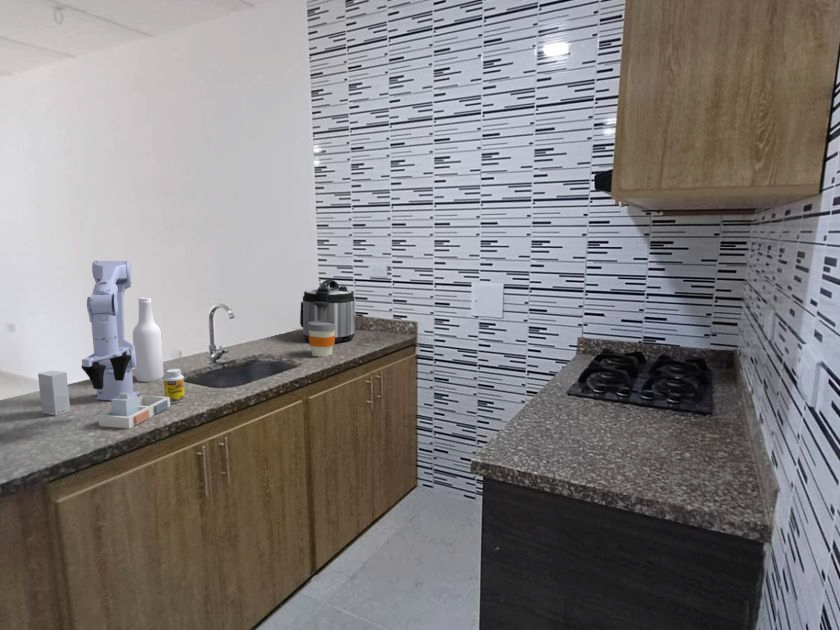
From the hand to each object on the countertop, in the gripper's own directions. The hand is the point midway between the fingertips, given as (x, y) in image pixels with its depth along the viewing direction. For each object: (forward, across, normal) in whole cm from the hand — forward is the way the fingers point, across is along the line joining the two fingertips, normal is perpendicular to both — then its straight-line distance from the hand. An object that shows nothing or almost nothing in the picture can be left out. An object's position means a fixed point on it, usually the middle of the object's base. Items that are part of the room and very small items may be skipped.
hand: (109, 384), depth 127 cm
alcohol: (+11, +36, +14) cm, 40 cm away
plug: (+10, -1, -5) cm, 11 cm away
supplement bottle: (+11, +16, -8) cm, 21 cm away
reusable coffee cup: (+11, +83, -35) cm, 91 cm away
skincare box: (+11, +2, +19) cm, 22 cm away
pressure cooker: (+11, +116, -28) cm, 120 cm away
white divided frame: (+10, +3, -5) cm, 12 cm away
